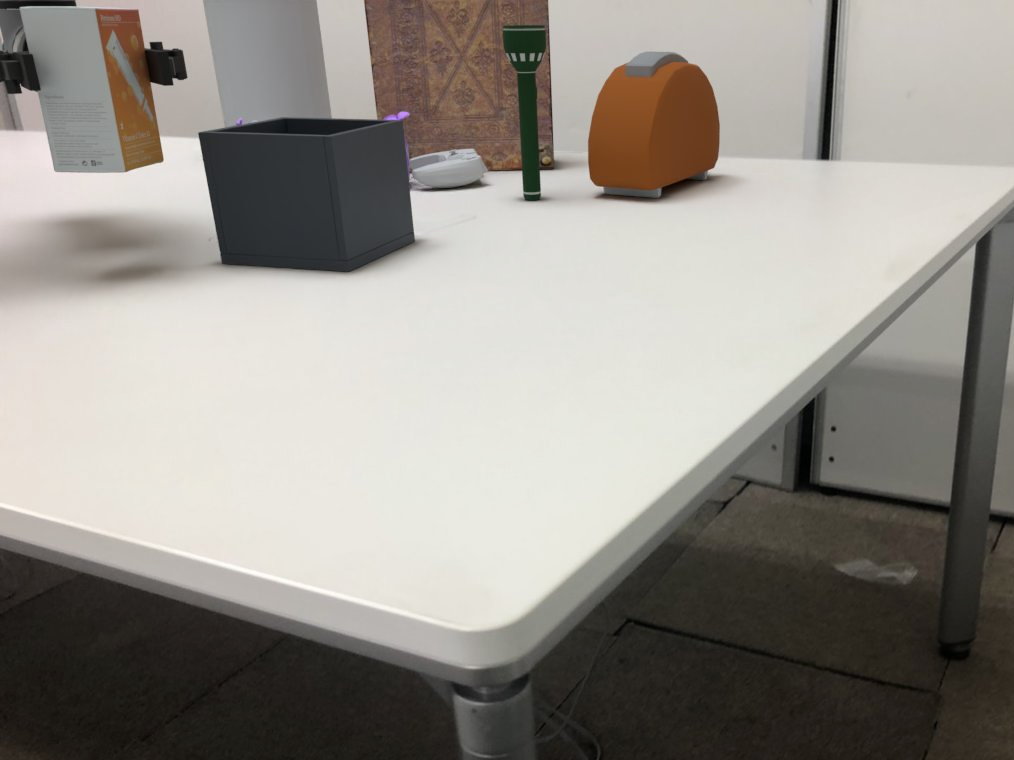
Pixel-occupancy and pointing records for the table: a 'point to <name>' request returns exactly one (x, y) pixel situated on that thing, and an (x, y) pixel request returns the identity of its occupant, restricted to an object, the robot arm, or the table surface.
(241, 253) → the dark grey square bin
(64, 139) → the small box
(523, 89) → the flashlight
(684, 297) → the table surface
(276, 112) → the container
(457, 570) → the table surface
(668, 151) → the orange toaster
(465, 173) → the game controller
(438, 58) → the book
